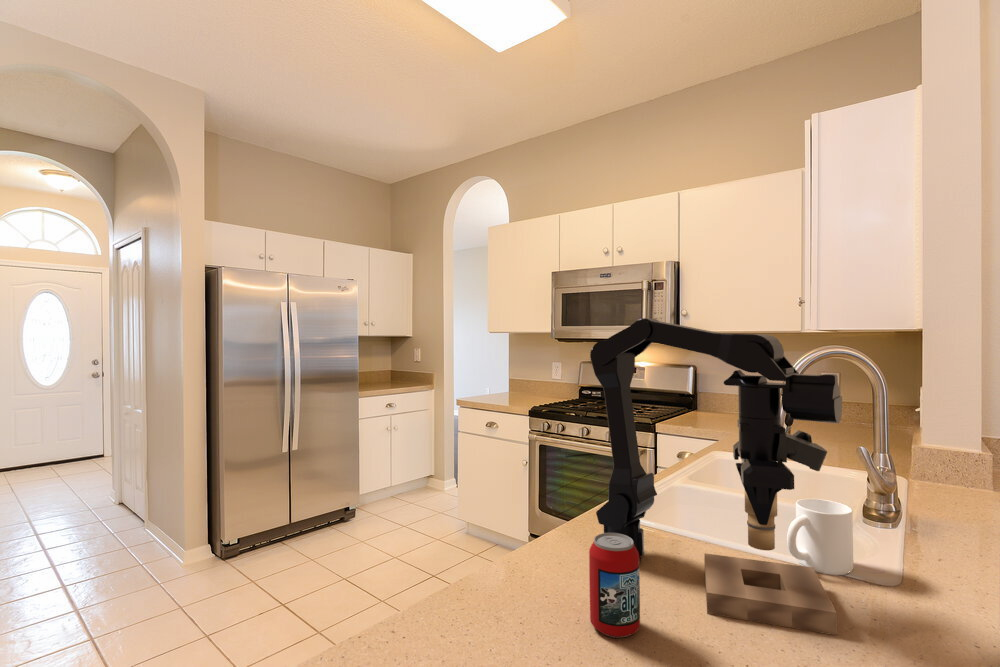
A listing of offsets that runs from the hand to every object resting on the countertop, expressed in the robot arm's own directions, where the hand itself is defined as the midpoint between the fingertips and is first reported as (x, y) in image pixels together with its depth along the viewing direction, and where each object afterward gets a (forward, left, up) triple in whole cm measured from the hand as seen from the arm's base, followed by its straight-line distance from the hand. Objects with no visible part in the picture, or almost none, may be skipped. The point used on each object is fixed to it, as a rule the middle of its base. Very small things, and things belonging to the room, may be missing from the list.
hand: (760, 519), depth 76 cm
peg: (0, 0, -4) cm, 4 cm away
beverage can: (-20, -15, -12) cm, 28 cm away
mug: (+10, +15, -12) cm, 22 cm away
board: (0, 0, -12) cm, 12 cm away
